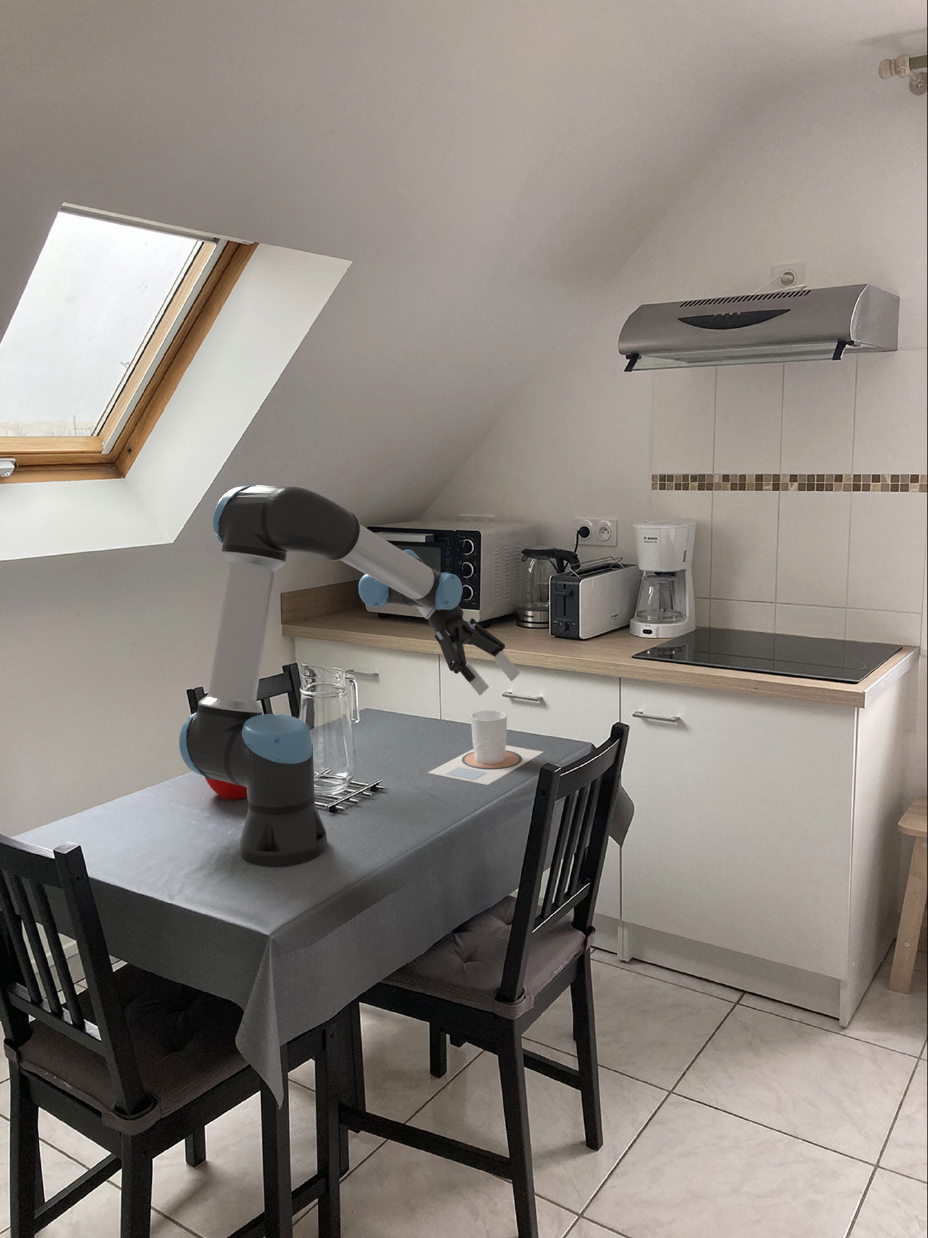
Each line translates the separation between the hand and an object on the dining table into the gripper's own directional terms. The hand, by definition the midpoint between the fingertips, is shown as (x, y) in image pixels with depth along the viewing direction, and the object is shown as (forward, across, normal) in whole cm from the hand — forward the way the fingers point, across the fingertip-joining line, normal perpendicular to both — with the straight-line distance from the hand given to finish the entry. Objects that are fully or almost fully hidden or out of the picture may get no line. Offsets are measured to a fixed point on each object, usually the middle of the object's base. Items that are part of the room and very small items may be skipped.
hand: (500, 684), depth 219 cm
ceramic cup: (-14, +39, -40) cm, 58 cm away
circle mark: (+10, 0, -14) cm, 17 cm away
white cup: (+10, +1, -14) cm, 17 cm away
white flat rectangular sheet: (+11, +2, -14) cm, 18 cm away
